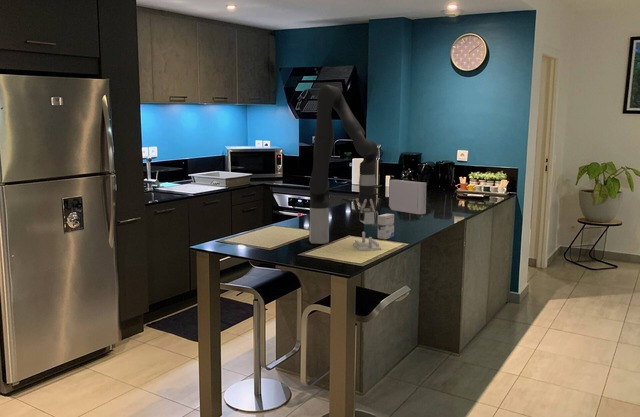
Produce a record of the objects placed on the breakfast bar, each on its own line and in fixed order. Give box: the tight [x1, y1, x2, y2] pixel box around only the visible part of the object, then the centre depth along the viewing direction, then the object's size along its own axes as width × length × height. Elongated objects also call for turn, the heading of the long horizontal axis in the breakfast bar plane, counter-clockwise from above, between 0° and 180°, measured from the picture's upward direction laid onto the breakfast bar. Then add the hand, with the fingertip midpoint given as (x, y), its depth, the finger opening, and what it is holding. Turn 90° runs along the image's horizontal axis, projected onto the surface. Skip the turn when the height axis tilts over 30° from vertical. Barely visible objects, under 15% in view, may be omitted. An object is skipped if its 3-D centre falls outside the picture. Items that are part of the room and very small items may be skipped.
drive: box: [359, 208, 375, 225], centre depth 266 cm, size 4×9×6 cm, turn 10°
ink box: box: [377, 213, 395, 240], centre depth 289 cm, size 8×5×12 cm, turn 141°
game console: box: [388, 179, 427, 215], centre depth 371 cm, size 6×27×20 cm, turn 39°
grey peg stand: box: [352, 231, 382, 252], centre depth 267 cm, size 10×14×6 cm
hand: (367, 220), depth 266 cm, fingers closed on drive, 4 cm apart
